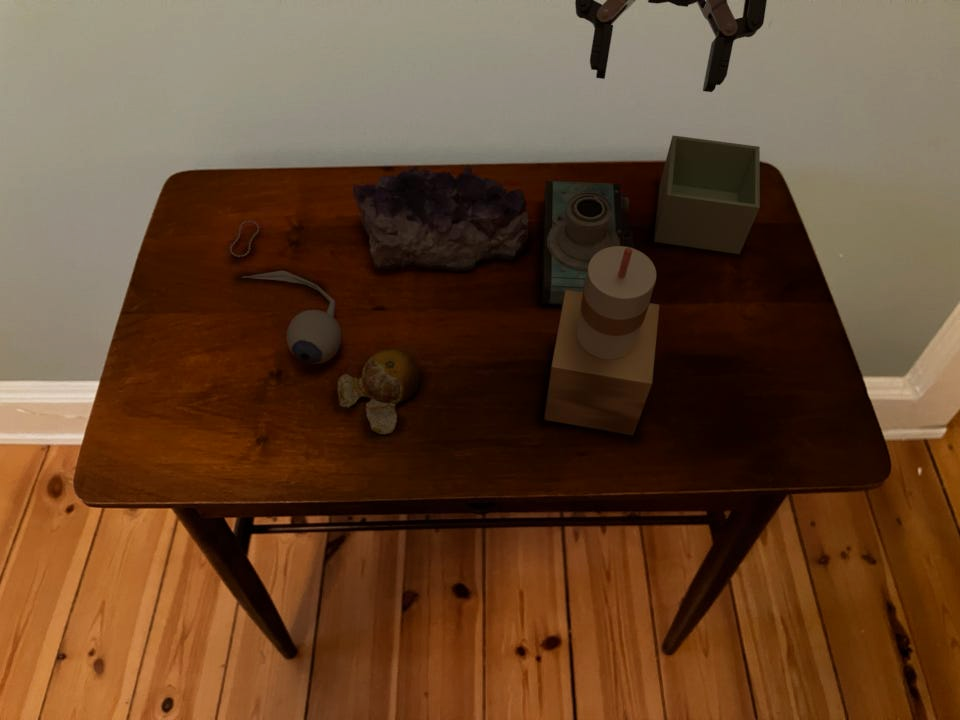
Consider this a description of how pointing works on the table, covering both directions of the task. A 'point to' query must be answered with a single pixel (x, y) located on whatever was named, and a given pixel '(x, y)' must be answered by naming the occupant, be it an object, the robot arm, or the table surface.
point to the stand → (599, 376)
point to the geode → (441, 220)
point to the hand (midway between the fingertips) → (654, 83)
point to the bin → (708, 194)
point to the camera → (579, 232)
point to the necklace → (249, 242)
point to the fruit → (381, 387)
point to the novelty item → (310, 325)
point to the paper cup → (615, 301)
